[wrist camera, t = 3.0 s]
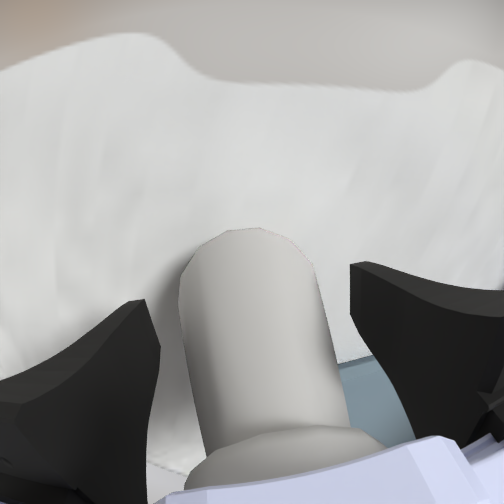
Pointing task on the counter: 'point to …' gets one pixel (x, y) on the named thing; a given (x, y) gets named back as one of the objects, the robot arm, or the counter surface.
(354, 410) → the tray
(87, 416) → the robot arm
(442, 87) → the counter surface
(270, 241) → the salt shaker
